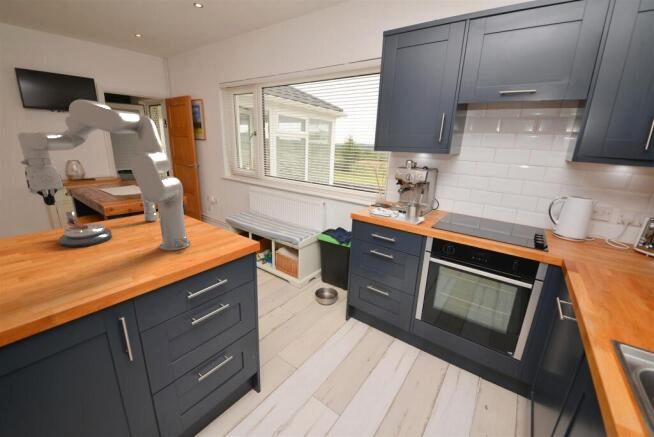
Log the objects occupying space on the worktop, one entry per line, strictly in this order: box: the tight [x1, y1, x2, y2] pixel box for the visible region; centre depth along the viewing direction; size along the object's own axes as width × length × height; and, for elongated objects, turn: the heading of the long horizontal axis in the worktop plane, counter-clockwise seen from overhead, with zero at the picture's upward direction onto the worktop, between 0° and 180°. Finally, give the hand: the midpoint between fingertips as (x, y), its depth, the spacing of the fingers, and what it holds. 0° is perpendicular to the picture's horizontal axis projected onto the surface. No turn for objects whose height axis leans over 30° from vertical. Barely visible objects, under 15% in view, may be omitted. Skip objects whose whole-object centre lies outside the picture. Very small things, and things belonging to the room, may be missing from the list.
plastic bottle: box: [140, 193, 159, 222], centre depth 154 cm, size 6×7×20 cm
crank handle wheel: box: [63, 210, 106, 239], centre depth 125 cm, size 14×20×9 cm
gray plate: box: [58, 228, 113, 249], centre depth 125 cm, size 18×18×3 cm
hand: (50, 204), depth 120 cm, fingers closed
